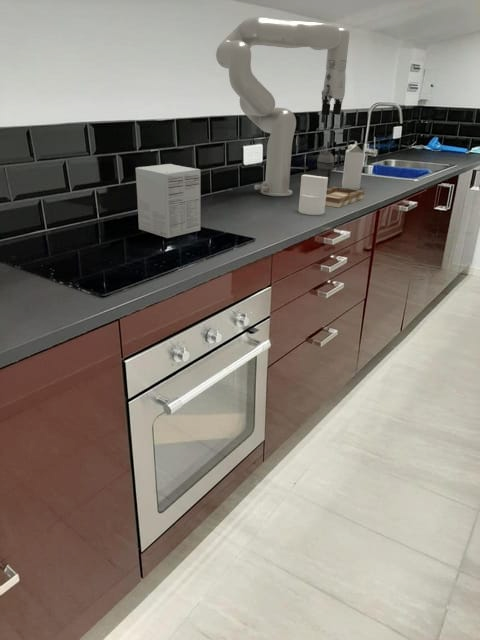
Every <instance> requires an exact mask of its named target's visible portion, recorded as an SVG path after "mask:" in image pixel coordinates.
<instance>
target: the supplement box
mask: <svg viewBox="0 0 480 640" xmlns="http://www.w3.org/2000/svg"><path fill="white" fill-rule="evenodd" d="M135 179H136V180H135V183H136V196H137V197H136V198H137V214H138V216H137V217H138V220H137V221H138V230H141V231H144V232H147V233H151V234H154V235H156V236H160V237H164V238H165V239H169V238H174V237H177V236H181V235H186V234H190V233H194V232H199V231H201V169H199V168H193V167H189V166H188V167H187V166H182V165H176V164H173V163H165V164H157V165H149V166H138V167H135Z"/></svg>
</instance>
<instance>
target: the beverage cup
mask: <svg viewBox="0 0 480 640" xmlns="http://www.w3.org/2000/svg"><path fill="white" fill-rule="evenodd" d="M316 163H317V164H316V166H317V176H321V177H328V183H327V188H330V184H331V178H332V173H333V168H334V165H335V163H336V162H335V157H334V155H333V153H331V152H329V151H328V139H326V141H325V151H323V152H321V153H320V154H319V156H318V158H317V160H316Z"/></svg>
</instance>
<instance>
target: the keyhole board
mask: <svg viewBox="0 0 480 640" xmlns="http://www.w3.org/2000/svg"><path fill="white" fill-rule="evenodd" d="M364 195H365V190H362V189H361V190H360V189H351V188H345V187H342V186H336V185H335V186H331V187H329V188H327V192H326V202H325V206H328V207H334V208H342V207H344V206H347V205H350V204H352V203H355V202H359V201H361V200H363V199H364Z"/></svg>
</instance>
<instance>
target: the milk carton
mask: <svg viewBox="0 0 480 640" xmlns="http://www.w3.org/2000/svg"><path fill="white" fill-rule="evenodd" d="M364 158H365V152H364V151H363V150H362V149H361V148H360V147H359V146H358V142H357V141H354V144H350V145H348V146H347V149H346V150H345V156H344V163H343V164H344V165H343V171H342V181H341V187H345V188H351V189H358V190H360V188H361V180H362V174H363V165H364Z"/></svg>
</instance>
